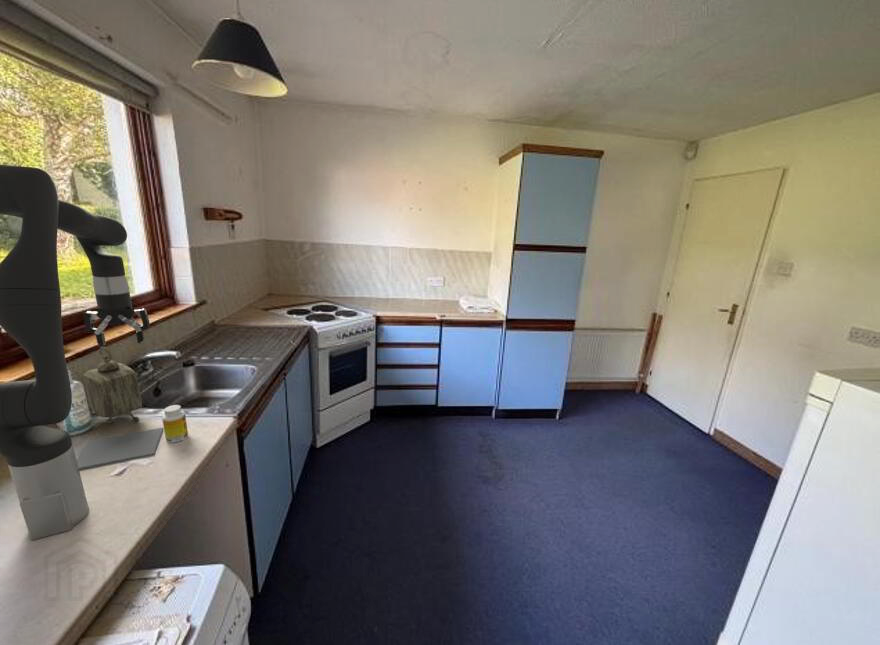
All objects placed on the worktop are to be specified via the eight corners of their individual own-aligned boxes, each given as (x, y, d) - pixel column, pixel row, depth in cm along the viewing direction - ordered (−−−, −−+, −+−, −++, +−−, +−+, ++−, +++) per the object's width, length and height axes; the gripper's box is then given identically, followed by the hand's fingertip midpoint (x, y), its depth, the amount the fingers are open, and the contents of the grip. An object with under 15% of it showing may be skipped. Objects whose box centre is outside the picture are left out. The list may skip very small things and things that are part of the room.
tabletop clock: (145, 421, 118) (132, 349, 111) (110, 434, 110) (93, 357, 103) (124, 408, 125) (110, 339, 118) (90, 419, 117) (73, 346, 110)
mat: (154, 454, 102) (153, 453, 102) (70, 471, 94) (69, 469, 94) (163, 429, 114) (163, 427, 114) (89, 441, 106) (89, 440, 106)
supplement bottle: (189, 439, 110) (184, 409, 107) (166, 445, 107) (161, 414, 104) (187, 430, 114) (182, 401, 111) (165, 436, 111) (160, 406, 108)
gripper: (74, 294, 98) (86, 351, 103) (140, 292, 105) (149, 345, 110) (83, 289, 105) (94, 342, 109) (145, 287, 112) (154, 338, 116)
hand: (122, 344), depth 109 cm, fingers open, 8 cm apart
